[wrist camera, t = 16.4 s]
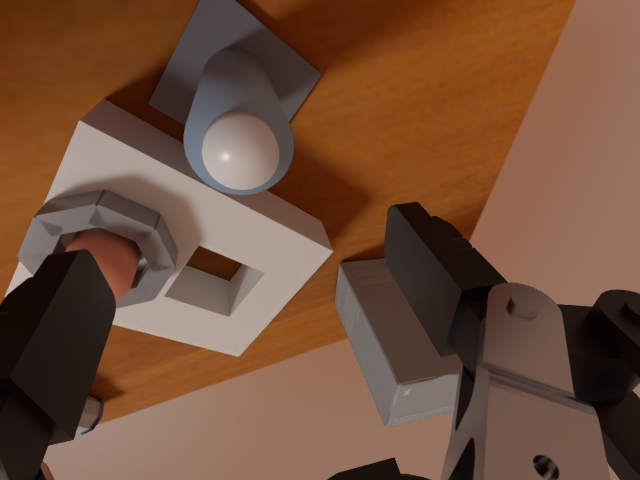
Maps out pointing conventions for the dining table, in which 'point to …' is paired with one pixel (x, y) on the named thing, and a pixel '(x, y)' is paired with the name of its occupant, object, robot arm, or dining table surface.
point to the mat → (230, 33)
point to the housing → (175, 234)
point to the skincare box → (393, 346)
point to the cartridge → (237, 126)
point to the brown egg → (110, 256)
